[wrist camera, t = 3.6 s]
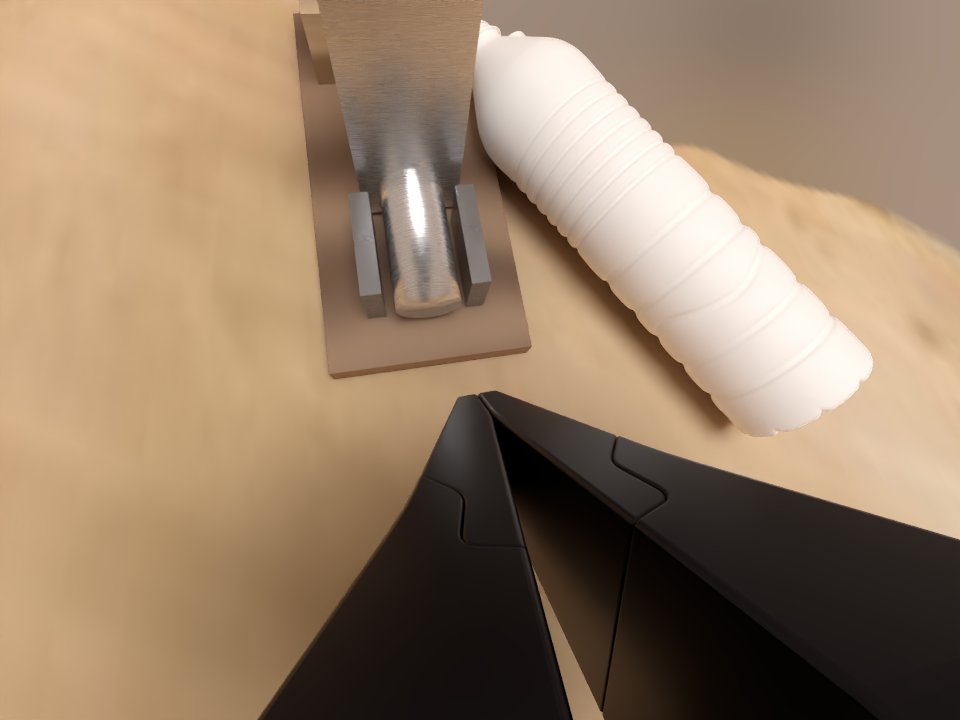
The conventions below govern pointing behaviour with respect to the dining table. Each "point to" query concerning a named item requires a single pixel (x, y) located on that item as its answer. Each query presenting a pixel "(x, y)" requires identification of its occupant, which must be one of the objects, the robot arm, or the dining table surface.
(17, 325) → the dining table surface
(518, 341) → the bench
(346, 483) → the dining table surface
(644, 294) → the water bottle
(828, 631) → the robot arm
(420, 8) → the grey metal upright slab
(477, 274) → the grey parallel guide rails
